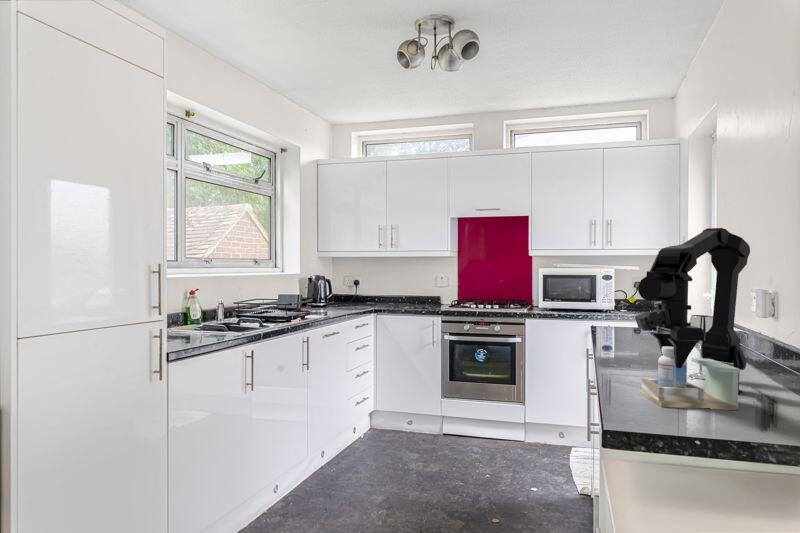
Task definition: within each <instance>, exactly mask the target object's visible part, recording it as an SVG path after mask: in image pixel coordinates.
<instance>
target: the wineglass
mask: <svg viewBox="0 0 800 533" xmlns="http://www.w3.org/2000/svg"><path fill="white" fill-rule="evenodd" d="M712 321H713V315H704V314H703V315H702V314H692V315H690V318H689V321H688V322H689V323H691V326H695V327H699V328H702V329H703V330H704V331H705V332H708V330H709V329H710V328H711V327H712ZM701 345H702V341H699V343H697V344H696V345H695V346H694V348H696V350H697V351H698V352H699V358H702V353H701ZM698 367H699V369H698V373H689V374H688V377H689V376H690V377H689V378H692V377H693V379H696V378H698V379H697V380H705V374H704V373H703V365H700V364H698Z"/></svg>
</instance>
